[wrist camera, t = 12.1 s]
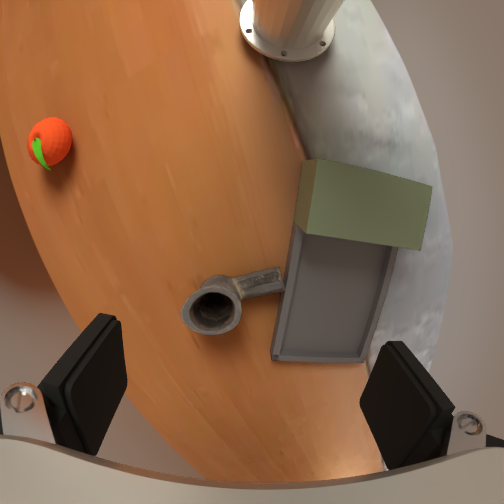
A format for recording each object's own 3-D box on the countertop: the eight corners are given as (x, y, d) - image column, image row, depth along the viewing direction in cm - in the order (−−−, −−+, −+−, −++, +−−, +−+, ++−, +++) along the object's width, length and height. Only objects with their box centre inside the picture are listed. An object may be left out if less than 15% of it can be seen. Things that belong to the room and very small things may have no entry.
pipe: (284, 290, 41) (294, 315, 34) (198, 312, 42) (189, 341, 34) (274, 249, 40) (282, 267, 32) (184, 274, 40) (171, 297, 32)
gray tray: (302, 161, 37) (317, 158, 29) (401, 182, 38) (432, 186, 30) (270, 350, 44) (275, 383, 36) (358, 354, 45) (375, 383, 37)
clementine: (87, 160, 35) (60, 159, 29) (52, 179, 36) (24, 182, 29) (75, 112, 33) (48, 104, 26) (42, 133, 34) (13, 130, 27)
